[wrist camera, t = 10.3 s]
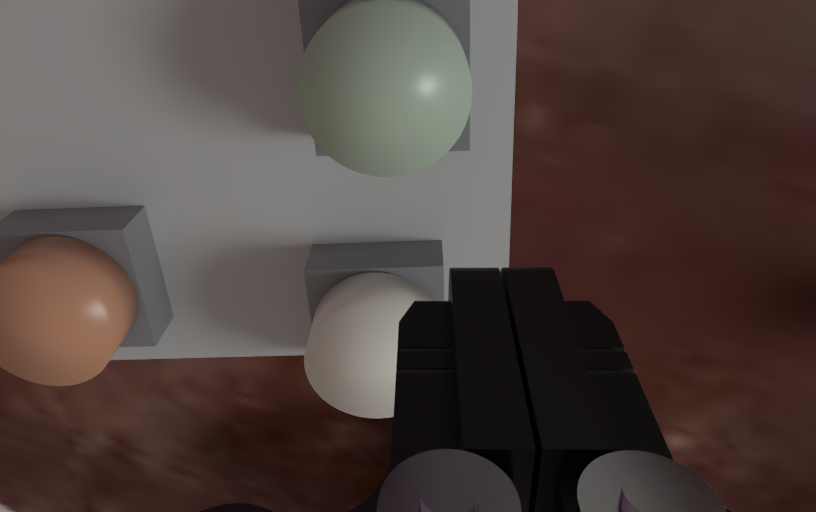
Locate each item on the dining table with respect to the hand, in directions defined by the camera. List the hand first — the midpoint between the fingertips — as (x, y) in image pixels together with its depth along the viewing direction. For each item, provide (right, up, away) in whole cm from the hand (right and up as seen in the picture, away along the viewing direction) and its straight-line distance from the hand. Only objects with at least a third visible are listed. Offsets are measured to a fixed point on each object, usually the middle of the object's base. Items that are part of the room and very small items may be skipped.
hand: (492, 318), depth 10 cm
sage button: (-2, +8, +13) cm, 16 cm away
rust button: (-14, 0, +18) cm, 23 cm away
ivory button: (-3, -1, +18) cm, 18 cm away
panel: (-8, +5, +16) cm, 19 cm away
